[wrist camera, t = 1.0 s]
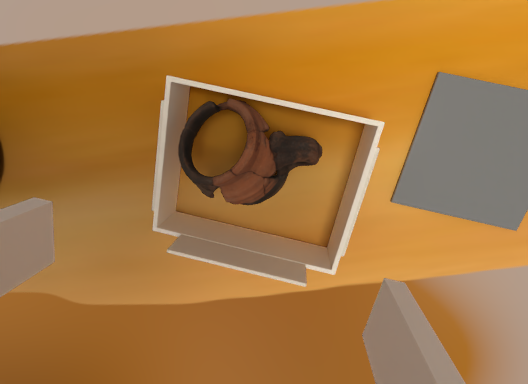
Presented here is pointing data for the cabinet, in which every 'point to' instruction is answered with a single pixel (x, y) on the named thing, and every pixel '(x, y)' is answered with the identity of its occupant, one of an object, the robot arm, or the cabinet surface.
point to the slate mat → (469, 153)
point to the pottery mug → (248, 156)
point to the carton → (243, 239)
